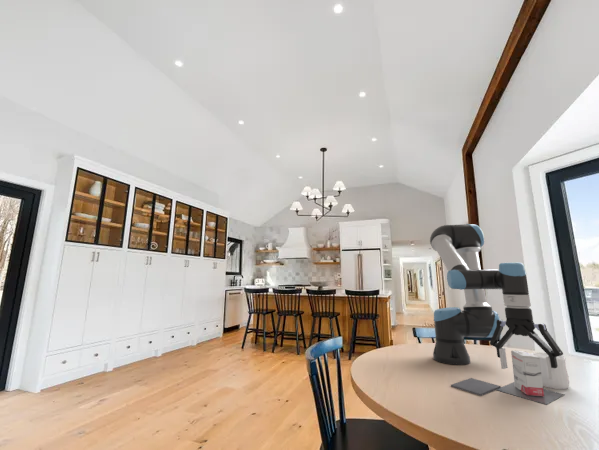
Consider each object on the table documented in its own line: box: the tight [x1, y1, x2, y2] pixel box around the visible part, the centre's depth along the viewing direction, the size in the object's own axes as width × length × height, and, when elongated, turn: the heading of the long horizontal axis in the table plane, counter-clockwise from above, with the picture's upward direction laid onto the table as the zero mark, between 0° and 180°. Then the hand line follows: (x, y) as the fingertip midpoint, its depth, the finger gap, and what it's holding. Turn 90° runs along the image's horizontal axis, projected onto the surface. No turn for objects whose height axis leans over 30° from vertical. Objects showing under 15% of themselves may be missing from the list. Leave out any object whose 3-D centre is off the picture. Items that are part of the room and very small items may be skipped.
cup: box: [530, 352, 570, 390], centre depth 104 cm, size 10×10×10 cm
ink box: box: [510, 350, 544, 396], centre depth 97 cm, size 9×5×12 cm, turn 168°
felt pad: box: [450, 377, 502, 397], centre depth 101 cm, size 10×13×1 cm
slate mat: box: [495, 381, 565, 405], centre depth 96 cm, size 14×14×1 cm
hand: (527, 373), depth 97 cm, fingers open, 13 cm apart
